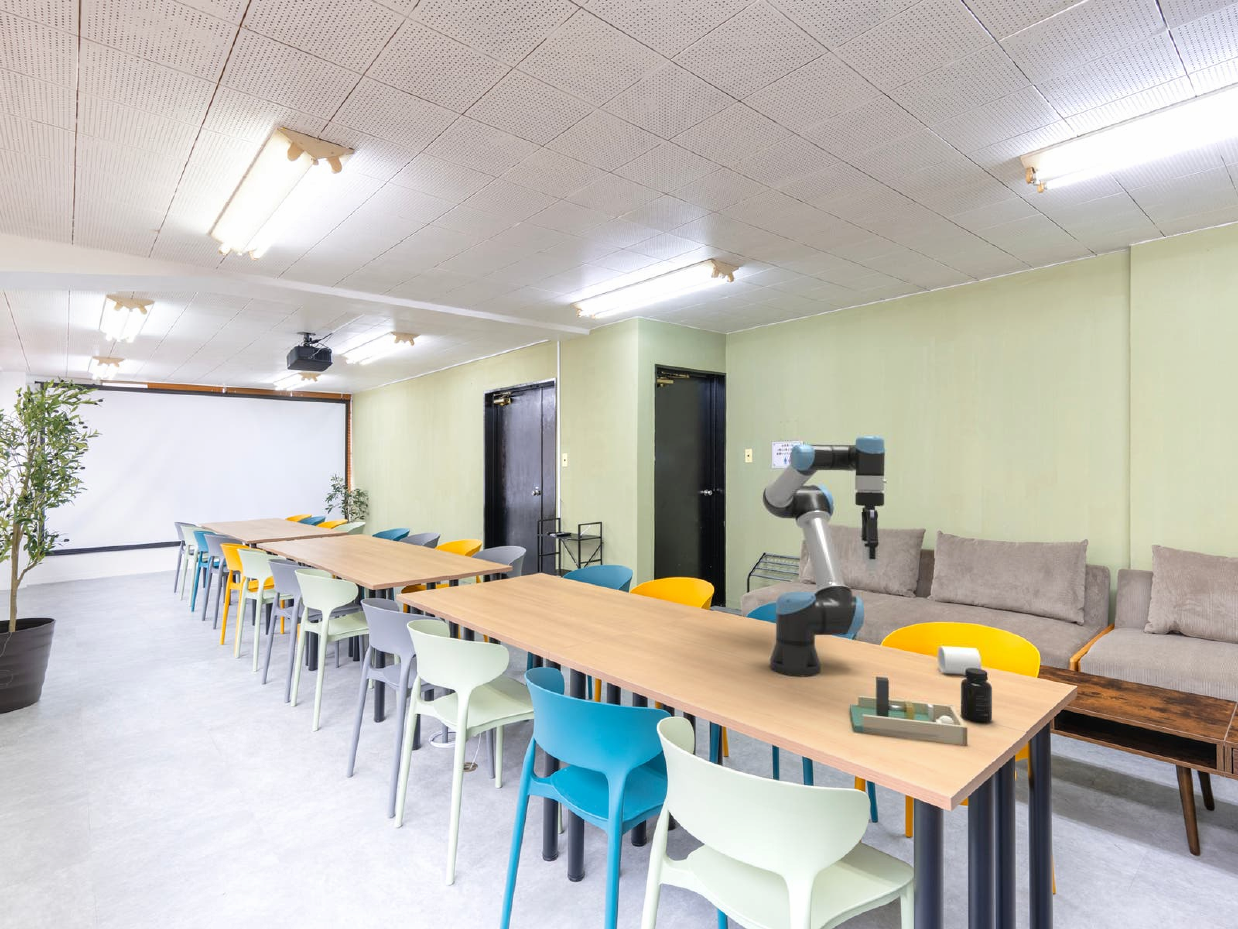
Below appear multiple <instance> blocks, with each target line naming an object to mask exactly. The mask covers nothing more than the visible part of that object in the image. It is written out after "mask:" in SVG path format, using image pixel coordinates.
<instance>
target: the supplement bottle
mask: <svg viewBox="0 0 1238 929" xmlns="http://www.w3.org/2000/svg"><path fill="white" fill-rule="evenodd" d="M964 677H965V678H963V679H962V680H961V682H960V717H961V718H962V719H964V720H965V721H969V722H972V723H976V724H988V723H991V721H992V719H993V686H992V685H991V683H990V682H988V680H989V677H988V671H986V670H985V669H982V668H981V669H978V668H967V669H966V670H965V675H964Z"/></svg>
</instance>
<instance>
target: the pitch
mask: <svg viewBox="0 0 1238 929" xmlns="http://www.w3.org/2000/svg"><path fill="white" fill-rule="evenodd" d="M857 700H858V701H857V704H849V712H850V718H851V723H852V729H853V732H854V733H860V734H868V735H869V734H870V735H878V736H884V737H885V736H886V737H895V738H903V739H910V740H912V739H913V740H918V741H927V742H937V743H944V744H952V745H960V746H968V726H967V724H966V723H965V721H964V720H963V717H962V716H961V714H960V713H959V712H958V710H957V709H956V707H955V706H954V705H953V704H943V703H934V702H933V703H932V702H925V701H916V700H915V701H913V700H908V701H909V702H912V704H913V706H914V720H909V719H905V717H904V712H901V711H892V710H889V717H882V716H877V715H876V696H866V695H857ZM904 701H907V700H906V699H905V700H904V699H897V698H895V699H894V698H889V705H894V706H904ZM941 716H948V717H950V718H951V719H952V720H953V721H954V724H955V725H954V724H945V723H942V722H941V720H938V719H939V718H940V717H941Z"/></svg>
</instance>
